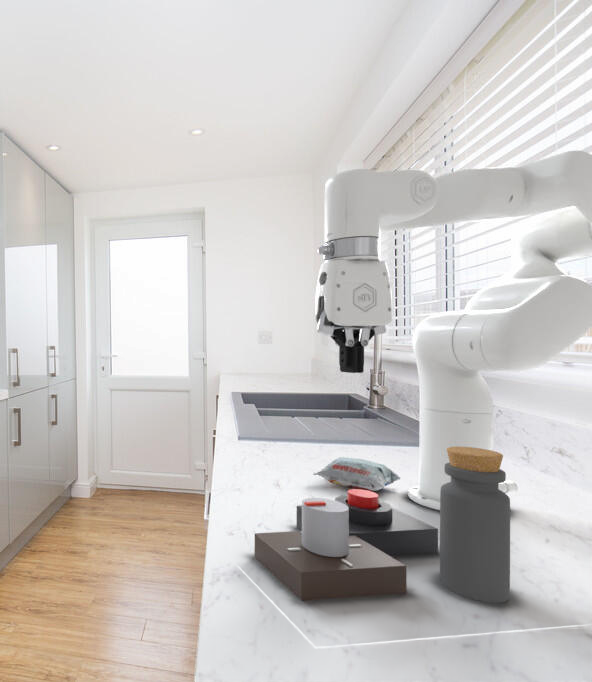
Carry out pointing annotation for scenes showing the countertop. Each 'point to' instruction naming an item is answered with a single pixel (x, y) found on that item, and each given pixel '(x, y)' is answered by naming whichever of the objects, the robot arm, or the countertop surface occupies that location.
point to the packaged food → (358, 474)
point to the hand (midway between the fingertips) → (351, 372)
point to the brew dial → (325, 527)
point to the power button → (363, 499)
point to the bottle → (475, 526)
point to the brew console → (329, 568)
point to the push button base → (388, 529)
